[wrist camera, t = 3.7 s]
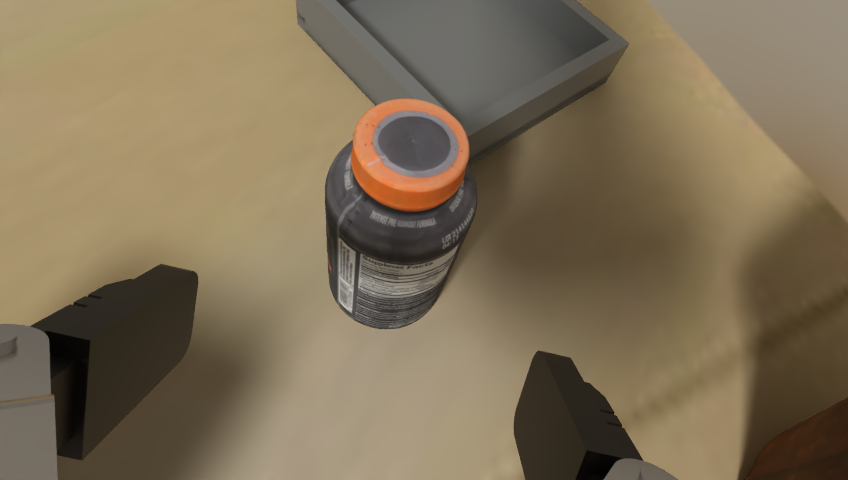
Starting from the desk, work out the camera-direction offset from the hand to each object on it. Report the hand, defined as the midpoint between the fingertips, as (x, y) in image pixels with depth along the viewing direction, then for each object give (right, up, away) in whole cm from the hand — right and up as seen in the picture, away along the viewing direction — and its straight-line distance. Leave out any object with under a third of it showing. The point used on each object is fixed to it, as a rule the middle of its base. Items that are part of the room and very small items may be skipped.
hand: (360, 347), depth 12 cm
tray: (+4, +16, +24) cm, 29 cm away
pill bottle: (-1, 0, +15) cm, 15 cm away
